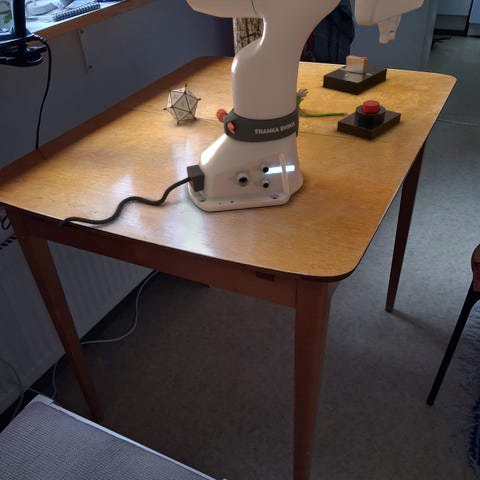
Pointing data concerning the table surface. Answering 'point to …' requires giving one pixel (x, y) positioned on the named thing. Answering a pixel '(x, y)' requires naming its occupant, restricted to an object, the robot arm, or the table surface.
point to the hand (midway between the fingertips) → (386, 41)
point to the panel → (354, 79)
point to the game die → (182, 104)
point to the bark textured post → (246, 31)
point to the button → (371, 106)
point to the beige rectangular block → (356, 64)
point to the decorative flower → (300, 97)
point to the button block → (368, 123)
